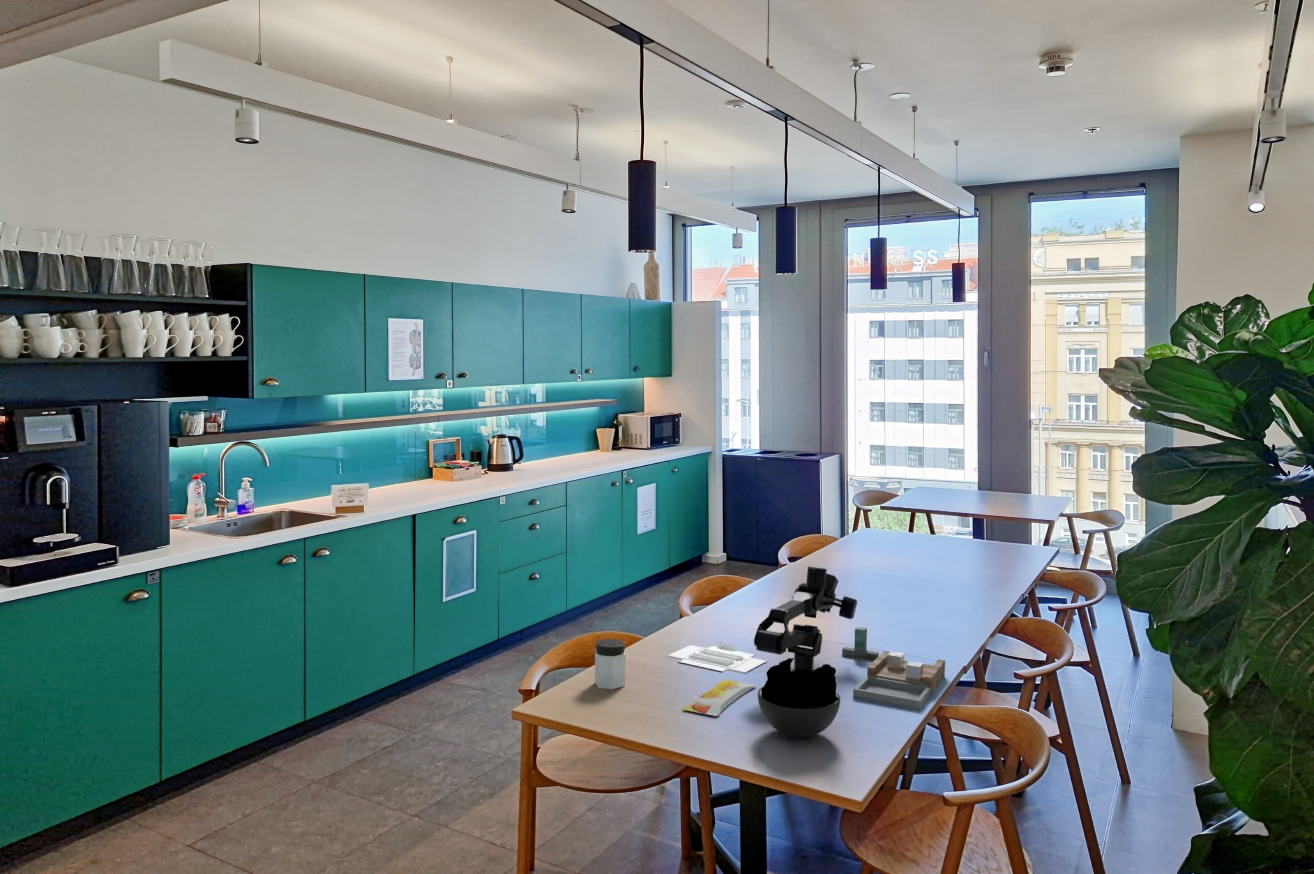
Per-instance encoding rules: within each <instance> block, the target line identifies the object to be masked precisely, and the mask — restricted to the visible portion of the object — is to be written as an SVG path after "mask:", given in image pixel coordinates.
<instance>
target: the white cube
mask: <svg viewBox="0 0 1314 874" xmlns="http://www.w3.org/2000/svg"><path fill="white" fill-rule="evenodd" d="M889 652H890V653H889V654H888V655H887V668H889V669H895V670H902V668H903V667H904V661H905V653H903V652H897V651H889Z"/></svg>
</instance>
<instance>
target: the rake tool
mask: <svg viewBox="0 0 1314 874" xmlns="http://www.w3.org/2000/svg"><path fill="white" fill-rule="evenodd" d="M867 640H868V627H862V626H857V627H856V628H854V646H853V647H850V646H849V647H848V646H844V647H843V648H842V649H841V653H842V654H841V656H842V657H846V658H853V659H859V660H865V661H871V662H873V661H874V660H875V659H876V658H877V657H879V656H880V654H879V651H874V650H873V651H872V650H868V649H867V647H868V646H867V643H868V641H867Z"/></svg>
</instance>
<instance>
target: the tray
mask: <svg viewBox="0 0 1314 874" xmlns="http://www.w3.org/2000/svg"><path fill="white" fill-rule="evenodd" d="M755 656H756V654H753V653H749V652H744V651H738V650H737V647H734V646H733V645H732V644H728V643H726V642H723V641H720V642H719V643H718V644H717V646H716V645H715V646H714V645H711V646H709V647H702V646H701V647H700V646H697V645H696V646H695V645H692V644H690V645H687V646H686V647H683V648H681V649H679V650H677V651H674V652H672V653H669V654H668V655H667V657H669V658H673V659H677V660H679V661H678V663H683V664H688V665H693V666H696V667H701V668H705V669H710V670H715V671H719V672H722V673H724V672H726V671H732V672H737V673H742V674H746V673H748V672H749V671H751V670H753V669H754V668H756V667H759V666H760V665H762V664H764V663H767V662H768V661H767V660H763V659H760V658H756V657H755ZM754 657H755V658H754Z"/></svg>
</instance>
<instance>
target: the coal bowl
mask: <svg viewBox="0 0 1314 874" xmlns="http://www.w3.org/2000/svg"><path fill="white" fill-rule="evenodd" d="M792 662H794V657H793V658H792V657H789V658H787V659H785V660H782V661H781V662H780V661H779V663H778V664H776V665H773V666H771V667H769V669H768V670H767V671H766V678H767V679H766V681H765V684H764V685H763V686H762V687H760V688H759V689H758V692H757V701H758V706H759V708H760V711H761V713H762V715H763V717H764V719H765V720H766V721H767V723H769V725H770V726H771V727H772V728H773V729H775V730H776V731H778V732H779V733H781V734H782V735H785V736H788V737H790V738H791V737H792V738H795V739H796V738H797V739H802V738H803V739H805V738H809V737H813V736H816V735H819V734H820V733H822V732H823V731H825V730H826V729H827V728H829V726H831V724H832V723H833V722H834V720H835V719H836V716H837V714H838V712H839V709H840V706H841V696H840V695H839V693H838V692H837V678H836V672H837V669H836V668H835V667H833V666H832V665H831V664H829V663H824V664H822V666H819V667H817V668H816V669H814V671H809V670H806V669H797V670H795V671H792Z"/></svg>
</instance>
